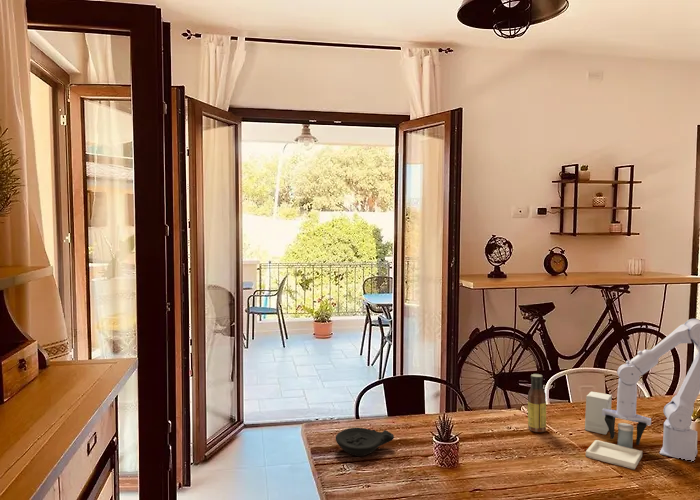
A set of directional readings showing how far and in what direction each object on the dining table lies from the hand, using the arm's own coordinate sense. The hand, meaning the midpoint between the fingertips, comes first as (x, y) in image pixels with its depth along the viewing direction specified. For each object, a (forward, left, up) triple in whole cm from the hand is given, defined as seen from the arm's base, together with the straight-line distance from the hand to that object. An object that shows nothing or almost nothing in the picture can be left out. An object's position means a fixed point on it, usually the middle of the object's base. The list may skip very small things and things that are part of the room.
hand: (624, 441), depth 180 cm
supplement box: (+11, -11, -2) cm, 15 cm away
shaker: (0, 0, -2) cm, 2 cm away
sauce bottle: (+28, +4, -2) cm, 28 cm away
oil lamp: (+64, +58, -2) cm, 87 cm away
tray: (+1, +11, -2) cm, 11 cm away
